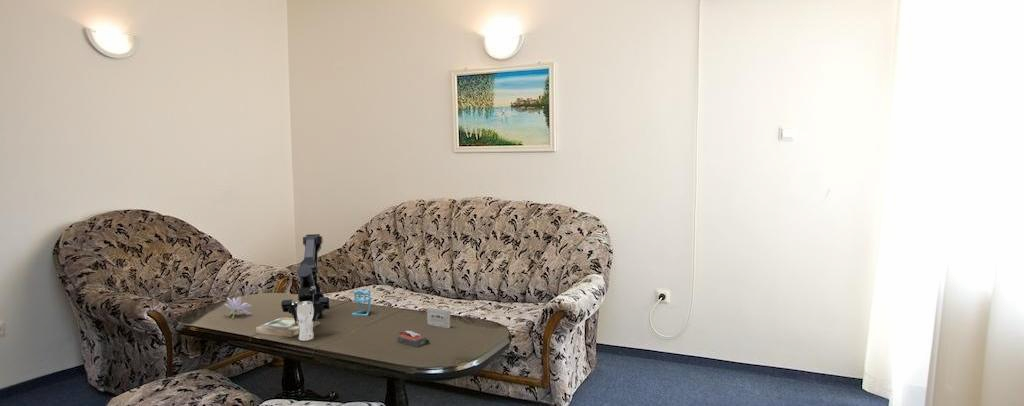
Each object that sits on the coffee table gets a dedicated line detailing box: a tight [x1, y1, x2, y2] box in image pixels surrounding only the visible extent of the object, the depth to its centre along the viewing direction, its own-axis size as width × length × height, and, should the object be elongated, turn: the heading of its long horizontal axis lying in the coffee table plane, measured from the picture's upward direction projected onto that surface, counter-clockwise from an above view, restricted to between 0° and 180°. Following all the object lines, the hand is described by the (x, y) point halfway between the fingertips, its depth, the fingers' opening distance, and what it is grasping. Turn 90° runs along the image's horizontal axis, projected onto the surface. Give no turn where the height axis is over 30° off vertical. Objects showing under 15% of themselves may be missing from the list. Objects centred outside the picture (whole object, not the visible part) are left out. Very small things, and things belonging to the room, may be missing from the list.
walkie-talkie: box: [397, 330, 430, 348], centre depth 238 cm, size 9×4×20 cm
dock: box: [255, 317, 320, 338], centre depth 256 cm, size 18×18×4 cm
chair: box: [351, 289, 373, 317], centre depth 278 cm, size 8×8×12 cm
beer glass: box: [296, 301, 315, 342], centre depth 241 cm, size 7×7×15 cm
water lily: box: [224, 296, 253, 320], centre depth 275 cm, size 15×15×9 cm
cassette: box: [426, 306, 451, 329], centre depth 257 cm, size 12×2×8 cm, turn 59°
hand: (305, 322), depth 240 cm, fingers closed on beer glass, 7 cm apart
